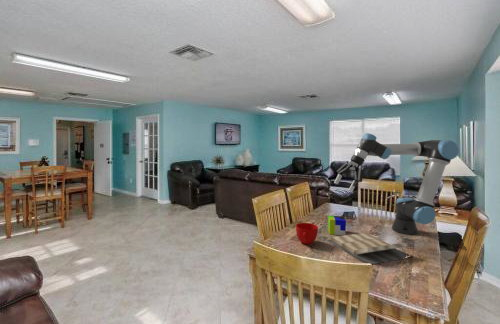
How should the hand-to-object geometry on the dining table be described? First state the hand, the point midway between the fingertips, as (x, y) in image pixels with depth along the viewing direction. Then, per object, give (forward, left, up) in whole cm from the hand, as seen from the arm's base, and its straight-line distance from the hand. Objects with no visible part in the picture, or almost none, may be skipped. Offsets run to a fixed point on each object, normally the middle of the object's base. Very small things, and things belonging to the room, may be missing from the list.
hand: (342, 187), depth 160 cm
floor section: (-4, +18, -33) cm, 38 cm away
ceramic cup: (+26, +2, -33) cm, 42 cm away
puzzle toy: (-4, -9, -33) cm, 34 cm away
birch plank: (-4, +29, -29) cm, 41 cm away
